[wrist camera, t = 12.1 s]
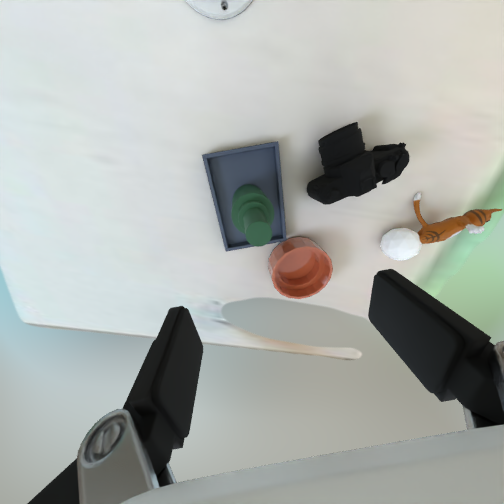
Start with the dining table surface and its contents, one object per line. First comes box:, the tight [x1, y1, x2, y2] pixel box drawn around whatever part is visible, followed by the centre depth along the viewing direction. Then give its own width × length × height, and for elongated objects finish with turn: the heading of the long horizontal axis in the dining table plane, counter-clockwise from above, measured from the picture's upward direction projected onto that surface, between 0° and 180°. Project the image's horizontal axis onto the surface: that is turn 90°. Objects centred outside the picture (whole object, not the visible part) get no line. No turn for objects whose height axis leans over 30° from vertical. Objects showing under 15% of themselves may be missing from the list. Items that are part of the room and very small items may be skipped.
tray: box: [202, 141, 287, 251], centre depth 35 cm, size 17×12×2 cm
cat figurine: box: [380, 192, 502, 260], centre depth 37 cm, size 13×12×18 cm
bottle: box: [231, 184, 274, 246], centre depth 28 cm, size 6×6×18 cm
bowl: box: [268, 237, 333, 299], centre depth 40 cm, size 12×12×6 cm
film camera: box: [307, 122, 409, 204], centre depth 30 cm, size 15×10×9 cm, turn 116°
